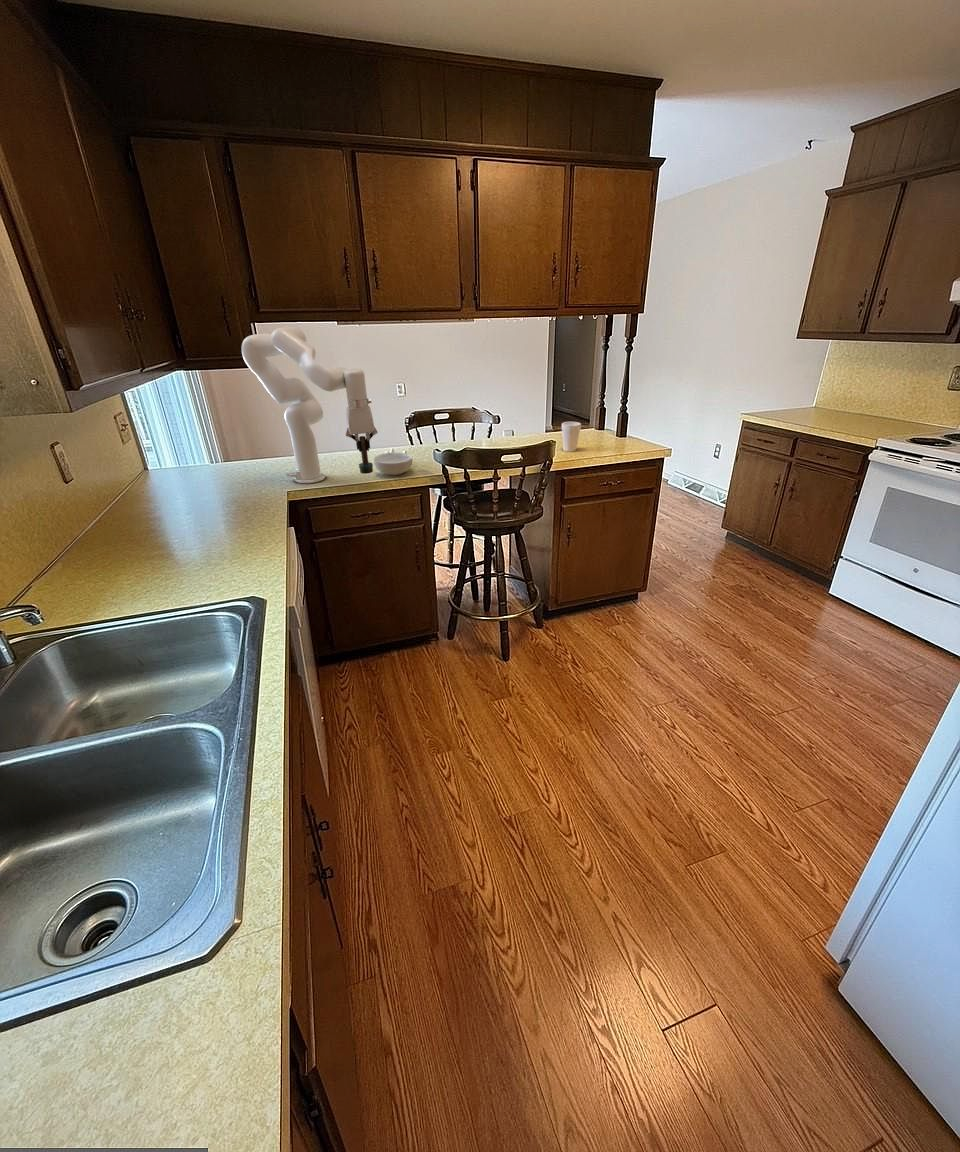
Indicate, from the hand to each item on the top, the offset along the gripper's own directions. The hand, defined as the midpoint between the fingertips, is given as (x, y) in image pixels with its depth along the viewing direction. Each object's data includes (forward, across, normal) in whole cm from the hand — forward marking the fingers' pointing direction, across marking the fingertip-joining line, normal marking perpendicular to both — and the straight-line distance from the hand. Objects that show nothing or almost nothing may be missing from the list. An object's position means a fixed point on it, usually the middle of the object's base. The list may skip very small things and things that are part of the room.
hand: (363, 450), depth 209 cm
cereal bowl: (+15, -14, -13) cm, 24 cm away
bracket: (+15, -18, -29) cm, 37 cm away
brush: (+9, 0, 0) cm, 9 cm away
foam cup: (+16, -105, -18) cm, 108 cm away
